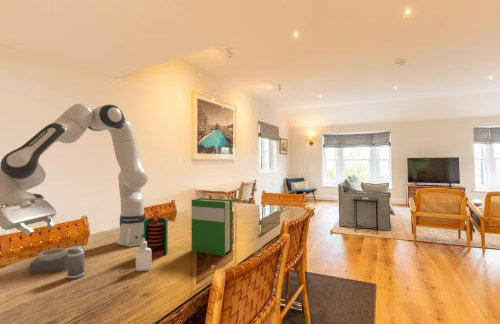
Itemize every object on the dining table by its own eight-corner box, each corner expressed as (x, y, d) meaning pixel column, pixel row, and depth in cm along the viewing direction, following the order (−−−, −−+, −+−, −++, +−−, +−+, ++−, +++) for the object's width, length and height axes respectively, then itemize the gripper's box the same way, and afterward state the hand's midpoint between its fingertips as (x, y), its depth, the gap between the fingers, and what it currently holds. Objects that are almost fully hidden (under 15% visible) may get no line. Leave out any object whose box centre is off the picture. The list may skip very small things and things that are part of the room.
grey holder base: (73, 260, 113) (73, 245, 113) (64, 270, 102) (64, 253, 102) (42, 263, 109) (42, 248, 109) (29, 274, 99) (29, 257, 99)
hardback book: (232, 250, 124) (232, 199, 124) (224, 256, 117) (224, 201, 117) (200, 246, 131) (200, 197, 131) (191, 250, 124) (191, 199, 124)
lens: (85, 272, 100) (85, 245, 100) (82, 278, 95) (81, 250, 95) (70, 274, 98) (70, 247, 98) (65, 280, 93) (65, 251, 93)
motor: (144, 259, 114) (144, 212, 114) (142, 252, 122) (142, 209, 122) (169, 255, 119) (168, 210, 119) (165, 249, 126) (165, 207, 126)
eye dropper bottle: (145, 272, 100) (145, 240, 100) (133, 270, 102) (133, 239, 102) (153, 268, 104) (153, 237, 104) (142, 266, 106) (142, 236, 106)
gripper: (-6, 201, 87) (22, 231, 87) (45, 194, 108) (68, 218, 107) (-19, 214, 87) (9, 244, 87) (34, 205, 108) (57, 229, 107)
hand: (42, 230), depth 97 cm, fingers open, 8 cm apart
